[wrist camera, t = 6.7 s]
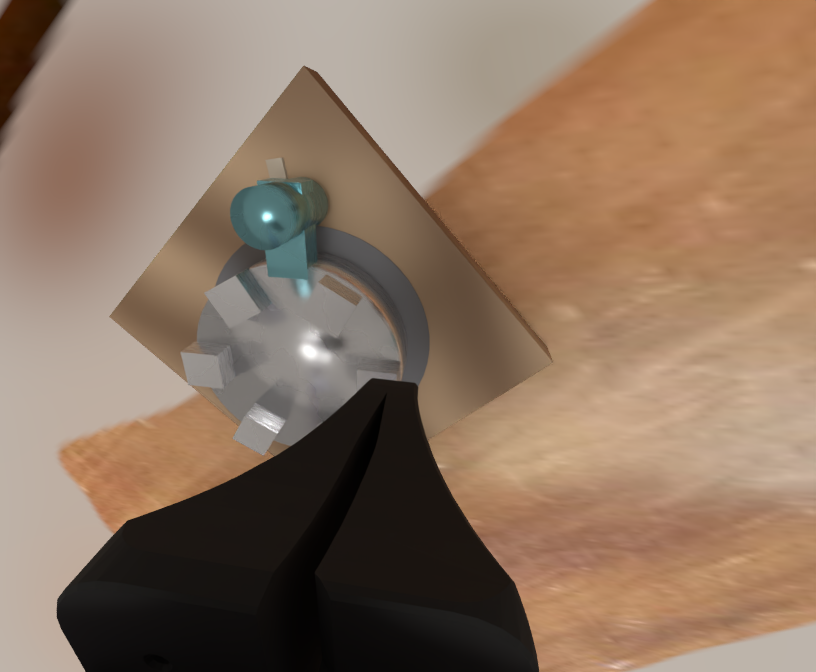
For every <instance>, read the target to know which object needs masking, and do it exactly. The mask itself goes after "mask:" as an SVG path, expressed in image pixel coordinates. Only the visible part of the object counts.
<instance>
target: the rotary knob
mask: <svg viewBox="0 0 816 672" xmlns="http://www.w3.org/2000/svg"><path fill="white" fill-rule="evenodd" d="M327 212H328V199H327V196H326V193H325V191H324V190H323V188H322V187H321V186H320V185H319V184H318V183H317V182H316V181H314V180H313V179H310V178H307V177H296V178H291V179H283V178H268V179H263V180H257V185H256V186H251V187H247V188H244V189H242V190H241V191H239V192H238V193H237V194H236V195H235V197H234V198H233V200H232V203H231V207H230V218H231V222H232V225H233V228H234V230H235V232H236V233H237V235H238V236H239V237H240V238H241V239H242V240H243V241H244V242H245V243H246V244H248V245H249V246H251V247H253V248H255V249H259V250H265V253H266V259H263V260H261V261H260V262H258V263H256V264H254V265H253V266H251V267H249V268H247V269H245V270H244V271H242V272H240V273H238V274H237V275H235V276H233V277H232V278H230V279H228V280H226V281H224V282H223V283H221V284H219V285H217V286H216V287H214V288H212V289H210V290H209V291H207V292H205V293H204V294H205V295H206V297H207V298H208V301H207V303H206V305H205V307H204V309H203V311H202V313H201V316H200V320H199V323H198V330H197V341H195V342H194V343H192V344H191V345H189V346H188V347H187V348H185V349H184V350H183V351H181V356H182V361H183V365H184V369H185V373H186V377H187V381H188V385H193V386H202V387H211V389H212V390H213V392H214V393H215V395H216V396H217V397H218V399H219V400H220V401H221V403H222V404H223V405H224V406H225V407H226V408H227V409H228V410H229V411H230V412H231V413H232V414H233V415H234V416H235V417H236V418H237V419H238V420H240V421H241V424H240V426H239V427H238V429H237V431H236V433H235V435H234V437H233V438H232V439H234V440H236V441H238V442H239V443H241V444H243V445H245V446H247V447H249V448H250V449H252V450H254V451H256V452H258V453H259V454H261V455H263V456H264V455H265V453H266V451H267V450H268V448H269V447H270V445H271V444H272V442H273V441H277V442H279V443H282V444H286V445H289V446H292V445H293V444H295V443H296V442H298V441H299V440H300V439H302V438H303V437H305V436H306V435H307V434H309V433H310V432H311V431H312V430H314V429H315V428H316V427H317V426H319V425H320V424H321V423H323V422H324V421H325V420H326V419H328V418H329V417H330V416H331V415H332V414H333V413H334V412H336V411H337V410H338V409H339V408H340V407H341V406H342V405H343V404H345V403H346V402H347V401H348V400H349V399H350V398H351V397H352V396H353V395H354V394H355V393H356V392H357V391H358V390H359V389H360V388H361V387H362V386H363V385H364V384H365V383H366V382H368V381H369V380H370V379H371V378H377V379H386V380H395V381H401V380H402V376H403V373H404V369H405V365H406V361H407V353H408V348H407V336H406V330H405V327H404V324H403V320H402V317H401V315H400V313H399V311H398V309H397V307H396V305H395V304H394V302H393V300H392V299H391V297H390V296H389V295H388V293H387V292H386V291H385V290H384V289H383V287H382V286H381V285H380V284H379V283H378V282H377V281H376V280H375V279H374V278H372V277H371V276H370V275H369V274H367V273H366V272H365V271H363V270H362V269H361V268H359V267H357V266H356V265H354V264H352V263H350V262H348V261H346V260H344V259H341V258H339V257H337V256H334V255H330V254H326V253H322V252H317V241H316V226H317V225H319V224H320V223H321V222H322V221H323V220H324V219H325V217H326V215H327Z"/></svg>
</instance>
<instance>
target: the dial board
mask: <svg viewBox="0 0 816 672" xmlns="http://www.w3.org/2000/svg"><path fill="white" fill-rule="evenodd" d="M296 177H307V178H310V179H313V180H314V181H316V182H317V183H318V184H319V185H320V186H321V187H322V188H323V190H324V191H325V193H326V196H327V199H328V212H327V215H326V217H325V219H324V220H323V221H322V222H321V223H320V224H319V225H317V226H316V241H317V252H322V253H326V254H330V255H334V256H337V257H339V258H341V259H344V260H346V261H348V262H350V263H352V264H354V265H356V266H357V267H359V268H361V269H362V270H363V271H365V272H366V273H367V274H369V275H370V276H371V277H372V278H374V279H375V280H376V281H377V282H378V283H379V284H380V285H381V286H382V287H383V289H384V290H385V291H386V292H387V293H388V295H389V296H390V297H391V299H392V300H393V302H394V304H395V305H396V307H397V309H398V311H399V313H400V315H401V317H402V320H403V324H404V327H405V330H406V336H407V348H408V353H407V361H406V365H405V369H404V373H403V376H402V380H401V381H404V382H413V383H416V384H417V386H418V405H419V411H420V416H421V420H422V424H423V427H424V431H425V434H426V437H427V440H429V439H430V438H432V437H434V436H435V435H437V434H439V433H440V432H442V431H443V430H445V429H447V428H448V427H450V426H451V425H453V424H455V423H456V422H458V421H460V420H461V419H463V418H464V417H466V416H468V415H469V414H471V413H472V412H474V411H476V410H477V409H479V408H481V407H482V406H484V405H485V404H487V403H489V402H490V401H492V400H493V399H495V398H497V397H498V396H500V395H502V394H503V393H505V392H506V391H508V390H510V389H511V388H513V387H514V386H516V385H518V384H519V383H521V382H523V381H524V380H526V379H527V378H529V377H531V376H532V375H534V374H535V373H537V372H539V371H540V370H542V369H544V368H545V367H547V366H548V365H550V364H552V363H553V361H552V358H551V356H550V353H549V351H548V348H547V347H546V346H545V344H544V343H543V342H542V341H541V340H540V338H539V337H538V336H537V335H536V334H535V332H534V331H533V330H532V329H531V328H530V326H529V325H528V324H527V323H526V322H525V320H524V319H523V318H522V317H521V316H520V314H519V313H518V312H517V311H516V310H515V308H514V307H513V306H512V305H511V304H510V302H509V301H508V300H507V299H506V298H505V296H504V295H503V294H502V293H501V292H500V290H499V289H498V288H497V287H496V286H495V284H494V283H493V282H492V281H491V280H490V278H489V277H488V276H487V275H486V274H485V272H484V271H483V270H482V269H481V268H480V266H479V265H478V264H477V263H476V262H475V261H474V259H473V258H472V257H471V256H470V255H469V253H468V252H467V251H466V250H465V249H464V247H463V246H462V245H461V244H460V243H459V241H458V240H457V239H456V238H455V237H454V235H453V234H452V233H451V232H450V231H449V229H448V228H447V227H446V226H445V225H444V223H443V222H442V221H441V220H440V219H439V217H438V216H437V215H436V214H435V213H434V211H433V210H432V209H431V208H430V207H429V205H428V204H427V203H426V202H425V201H424V199H423V198H422V197H421V196H420V195H419V193H418V192H417V191H416V190H415V189H414V188H413V186H412V185H411V184H410V183H409V181H408V180H407V179H406V178H405V177H404V175H403V174H402V173H401V172H400V171H399V170H398V168H397V167H396V166H395V165H394V164H393V163H392V161H391V160H390V159H389V158H388V156H386V154H385V153H384V152H383V150H382V149H381V148H380V147H379V146H378V144H377V143H376V142H375V141H374V140H373V138H372V137H371V136H370V135H369V134H368V132H367V131H366V130H365V129H364V128H363V126H362V125H361V124H360V123H359V122H358V120H357V119H356V118H355V117H354V116H353V114H352V113H351V112H350V111H349V110H348V108H347V107H346V106H345V105H344V104H343V102H342V101H341V100H340V99H339V98H338V96H337V95H336V94H335V93H334V92H333V91H332V89H331V88H330V87H329V86H328V84H327V83H326V82H325V81H324V80H323V79H322V77H321V76H320V75H319V74H318V73H317V72H316V71H314V70H312V69H310V68H308V67H305V66H303V67H302V68H301V70H300V71H299V72H298V73H297V75H296V76H295V78H294V79H293V80H292V81H291V83H290V84H289V85H288V87H287V88H286V89H285V90H284V92H283V93H282V94H281V95H280V97H279V98H278V99H277V101H276V102H275V103H274V104H273V106H272V107H271V108H270V110H269V111H268V112H267V114H266V115H265V116H264V118H263V119H262V120H261V121H260V123H259V124H258V125H257V127H256V128H255V129H254V130H253V132H252V133H251V134H250V136H249V137H248V138H247V139H246V141H245V142H244V143H243V145H242V146H241V147H240V148H239V150H238V151H237V152H236V154H235V155H234V156H233V157H232V159H231V160H230V161H229V163H228V164H227V165H226V167H225V168H224V169H223V170H222V172H221V173H220V174H219V176H218V177H217V178H216V180H215V181H214V182H213V183H212V185H211V186H210V187H209V189H208V190H207V191H206V192H205V194H204V195H203V196H202V198H201V199H200V200H199V201H198V203H197V204H196V205H195V207H194V208H193V209H192V210H191V212H190V213H189V214H188V216H187V217H186V218H185V219H184V221H183V222H182V223H181V225H180V226H179V227H178V229H177V230H176V231H175V233H174V234H173V235H172V236H171V238H170V239H169V240H168V241H167V243H166V244H165V245H164V247H163V248H162V249H161V250H160V252H159V253H158V254H157V256H156V257H155V258H154V259H153V261H152V262H151V264H150V265H149V266H148V267H147V269H146V270H145V271H144V273H143V274H142V275H141V276H140V278H139V279H138V280H137V281H136V283H135V284H134V286H133V287H132V288H131V289H130V290H129V292H128V293H127V294H126V296H125V297H124V298H123V300H122V301H121V302H120V303H119V305H118V306H117V307H116V309H115V310H114V311H113V312H112V314H111V315H110V318H112V319H113V320H114V321H115V322H116V323H118V324H119V325H120V326H121V327H122V328H123V329H125V330H126V331H127V332H128V333H129V334H131V335H132V336H133V337H134V338H135V339H136V340H138V341H139V342H140V343H141V344H142V345H143V346H145V347H146V348H147V349H148V350H150V351H151V352H152V353H153V354H154V355H155V356H157V357H158V358H159V359H160V360H161V361H162V362H164V363H165V364H166V365H167V366H168V367H170V368H171V369H172V370H173V371H174V372H175V373H177V374H178V375H179V376H180V377H181V378H182V379H184V380H185V381H186V382H187V383H188V381H187V377H186V373H185V369H184V365H183V361H182V356H181V351H183V350H184V349H185V348H187V347H188V346H189V345H191V344H192V343H194V342H195V341H197V330H198V323H199V320H200V316H201V313H202V311H203V309H204V307H205V305H206V303H207V301H208V298H207V297H206V295H205V294H204V293H205V292H207V291H209V290H210V289H212V288H214V287H216V286H217V285H219V284H221V283H223V282H224V281H226V280H228V279H230V278H232V277H233V276H235V275H237V274H238V273H240V272H242V271H244V270H245V269H247V268H249V267H251V266H253V265H254V264H256V263H258V262H260V261H261V260H263V259H266V253H265V250H259V249H255V248H253V247H251V246H249V245H248V244H246V243H245V242H244V241H243V240H242V239H241V238H240V237H239V236H238V235H237V233H236V232H235V230H234V228H233V225H232V222H231V218H230V207H231V203H232V200H233V198H234V197H235V195H236V194H237V193H238V192H239V191H241V190H242V189H244V188H247V187H251V186H256V185H257V180H263V179H268V178H283V179H291V178H296ZM191 386H192V387H193V388H194V389H195V390H197V391H198V392H199V393H200V394H201V395H203V396H204V397H205V398H206V399H207V400H208V401H210V402H211V403H212V404H213V405H214V406H216V407H217V408H218V409H219V410H220V411H221V412H223V413H224V414H225V415H226V416H227V417H229V418H230V419H231V420H232V421H233V422H234V423H236V424H237V425H238V426H240V424H241V421H240V420H238V419H237V418H236V417H235V416H234V415H233V414H232V413H231V412H230V411H229V410H228V409H227V408H226V407H225V406H224V405H223V404H222V403H221V401H220V400H219V399H218V397H217V396H216V395H215V393H214V392H213V390H212V389H211V387H202V386H193V385H191ZM289 447H290V446H289V445H286V444H282V443H279V442H277V441H273V442H272V444H271V445H270V447H269V448H268V451H269V452H270V453H271V454H272V455H273V456H276V455H278V454H279V453H281V452H282V451H284V450H286V449H287V448H289Z"/></svg>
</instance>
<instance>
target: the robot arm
mask: <svg viewBox="0 0 816 672" xmlns="http://www.w3.org/2000/svg"><path fill="white" fill-rule="evenodd" d="M57 619H58V621H59V624H60V627H61V629H62V631H63V633H64V635H65V636H66V638H67V640H68V641H69V643H70V645H71V647H72V648H73V650H74V652H75V654H76V655H77V657H78V659H79V660H80V662H81V664H82V666H83V668H84V669H85V672H539V667H538V660H537V654H536V650H535V646H534V641H533V637H532V634H531V630H530V626H529V623H528V620H527V616H526V613H525V610H524V607H523V604H522V602H521V599H520V596H519V593H518V591H517V588H516V585H515V583H514V581H513V580H512V579H511V578H510V577H509V575H508V574H507V573H506V572H505V571H504V569H503V568H502V567H501V566H500V565H499V563H498V562H497V561H496V559H495V558H494V557H493V556H492V554H491V553H490V552H489V550H488V549H487V548H486V546H485V545H484V544H483V542H482V541H481V539H480V538H479V537H478V535H477V534H476V532H475V531H474V530H473V528H472V527H471V525H470V523H469V522H468V520H467V519H466V517H465V515H464V514H463V512H462V511H461V509H460V507H459V506H458V504H457V503H456V501H455V499H454V498H453V496H452V494H451V492H450V490H449V488H448V487H447V485H446V483H445V481H444V479H443V477H442V475H441V472H440V470H439V468H438V466H437V464H436V461H435V459H434V457H433V454H432V451H431V449H430V446H429V443H428V441H427V437H426V434H425V431H424V427H423V424H422V420H421V416H420V411H419V405H418V386H417V384H416V383H413V382H404V381H395V380H386V379H377V378H371V379H370V380H369V381H368V382H366V383H365V384H364V385H363V386H362V387H361V388H360V389H359V390H358V391H357V392H356V393H355V394H354V395H353V396H352V397H351V398H350V399H349V400H348V401H347V402H346V403H345V404H343V405H342V406H341V407H340V408H339V409H338V410H337V411H336V412H334V413H333V414H332V415H331V416H330V417H329V418H328V419H326V420H325V421H324V422H323V423H321V424H320V425H319V426H317V427H316V428H315V429H314V430H312V431H311V432H310V433H309V434H307V435H306V436H305V437H303V438H302V439H300V440H299V441H298V442H296V443H295V444H293V445H292V446H290V447H289V448H287V449H286V450H284V451H282V452H281V453H279V454H278V455H276V456H274V457H273V458H271V459H269V460H267V461H265V462H264V463H262V464H260V465H258V466H256V467H254V468H252V469H251V470H249V471H247V472H245V473H243V474H241V475H240V476H238V477H235V478H233V479H231V480H229V481H227V482H225V483H223V484H221V485H219V486H216V487H214V488H212V489H210V490H207V491H205V492H203V493H200V494H198V495H196V496H193V497H191V498H188V499H186V500H183V501H181V502H178V503H175V504H173V505H170V506H167V507H164V508H162V509H159V510H156V511H153V512H151V513H148V514H145V515H143V516H140V517H137V518H134V519H131V520H128V521H127V522H126V523H125V524H124V525H123V526H122V527H121V528H120V529H119V530H118V531H117V532H116V533H115V534H114V535H113V536H112V537H111V538H110V539H109V540H108V541H107V543H106V544H105V545H104V546H103V547H102V548H101V549H100V550H99V552H98V553H97V554H96V555H95V556H94V557H93V558H92V559H91V560H90V562H89V563H88V564H87V565H86V566H85V567H84V568H83V569H82V571H81V572H80V573H79V574H78V575H77V576H76V578H75V579H74V580H73V581H72V582H71V583H70V584H69V585H68V586H67V587H66V588H65V590H64V591H63V593H62V594H61V595H60V596H59V598H58V600H57Z"/></svg>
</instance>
